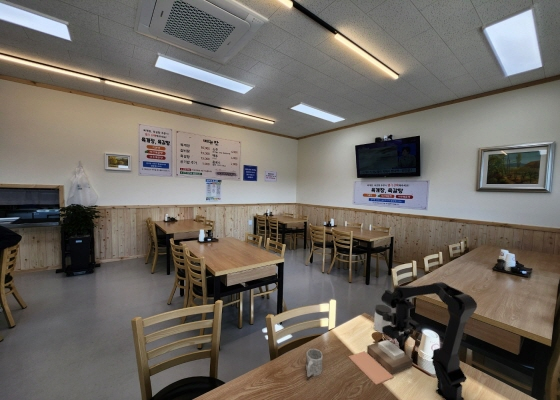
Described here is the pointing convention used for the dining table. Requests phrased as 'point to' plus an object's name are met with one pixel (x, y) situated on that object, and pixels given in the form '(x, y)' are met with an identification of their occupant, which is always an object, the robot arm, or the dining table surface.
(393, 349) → the grey flat block
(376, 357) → the brown rectangular block
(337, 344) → the dining table surface
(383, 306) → the jar
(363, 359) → the mat
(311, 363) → the mug
